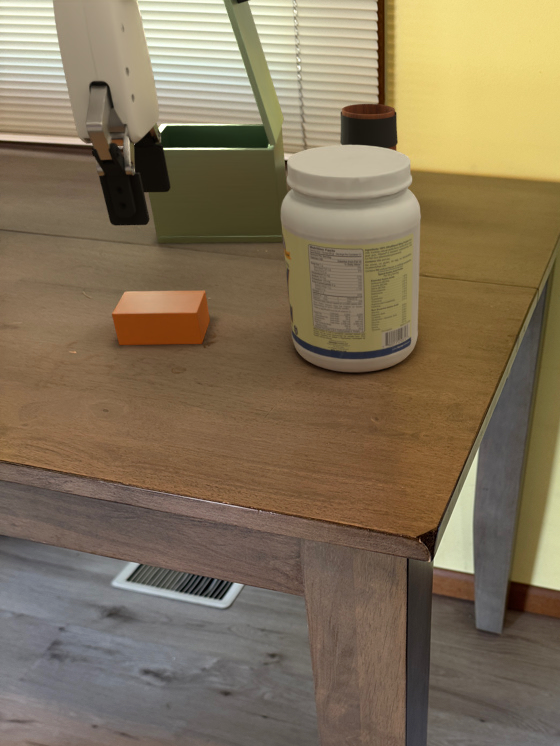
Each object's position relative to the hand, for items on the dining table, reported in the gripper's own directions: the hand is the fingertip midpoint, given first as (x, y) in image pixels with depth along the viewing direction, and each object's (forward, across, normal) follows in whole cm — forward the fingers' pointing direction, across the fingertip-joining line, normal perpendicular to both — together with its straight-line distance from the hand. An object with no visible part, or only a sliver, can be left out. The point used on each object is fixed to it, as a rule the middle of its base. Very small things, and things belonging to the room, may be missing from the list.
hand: (142, 206), depth 68 cm
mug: (+12, -46, +21) cm, 52 cm away
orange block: (+12, 0, 0) cm, 12 cm away
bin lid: (-7, -33, +7) cm, 35 cm away
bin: (+12, -33, +2) cm, 35 cm away
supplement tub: (+12, +4, +19) cm, 23 cm away
